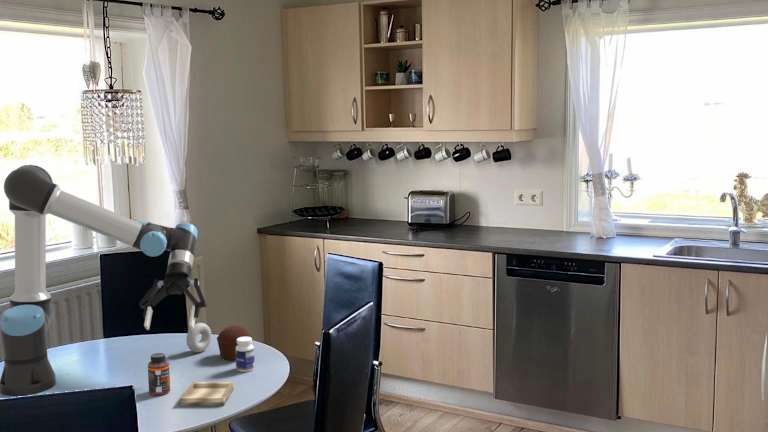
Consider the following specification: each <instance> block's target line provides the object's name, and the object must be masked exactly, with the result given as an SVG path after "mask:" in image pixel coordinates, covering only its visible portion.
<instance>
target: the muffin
mask: <svg viewBox="0 0 768 432" xmlns="http://www.w3.org/2000/svg"><path fill="white" fill-rule="evenodd" d="M239 337H251V338H252V334H251V333H250V332H249V331H248V330H247V329H246V328H244V327H242V326H241V325H230V326H227V327H224V329H222V330H221V331H220V333H219V334H218V336H217V337H216V341H217V344H218V349H219V353H220V359H222V360H223V359H224V360H225V362H236V351H235V348H236V346H237V345H238V344H237V338H239ZM224 360H223V361H224Z"/></svg>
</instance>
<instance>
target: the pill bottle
mask: <svg viewBox="0 0 768 432" xmlns="http://www.w3.org/2000/svg"><path fill="white" fill-rule="evenodd" d="M252 343H253V338H252V336H251V337H239V338H237V344H238V345H237V346H236V348H235V351H236V361H235V369H236V371H237V372H241V373H247V372H251V371H253V370H254V369H255V365H256V364H255V363H256V362H255V347H254V345H253V344H252Z"/></svg>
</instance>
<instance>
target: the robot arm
mask: <svg viewBox="0 0 768 432" xmlns="http://www.w3.org/2000/svg"><path fill="white" fill-rule="evenodd" d="M3 193H4V194H5V197H6V199H8V210H9V211H10V212H11V213H12V214H13V215H14V289H15V290H14V293H12V294H11V295H10V296H9V308H7V309H6V310H4V311H3V312H2V314H1V315H0V331H1V340H2V353H3V361H4V362H3V368H2V372H1V375H0V376H1V377H0V393H1V394H3V395H7V396H24V395H23V394H27V395H31V394H32V395H33V394H36V393H41V392H44V391H46V390H49V389H51V388H52V387H53V386H55V385H56V383H57V377H56V373H55V371H54V369H53V367H52V365H51V362H50V360H49V357H48V346H47V345H48V344H47V343H48V342H47V333H48V331H49V329H50V328H51V325H52V323H53V320H54V312H53V309H52V296H51V294H50V293H49V292H48V291H47V289H46V287H47V286H46V285H47V284H46V283H47V282H46V278H47V275H46V274H47V273H46V272H47V267H46V263H47V262H46V261H47V259H46V253H47V252H46V251H47V250H46V248H47V247H46V245H47V244H46V243H47V241H46V240H47V239H46V235H47V234H46V230H47V229H46V225H47V224H46V217H47V215H52V216H54V217H57V218H60V219H62V220H64V221H66V222H69V223H72V224H74V225H77V226H79V227H82V228H85V229H87V230H89V231H92V232H95V233H97V234H100V235H102V236H104V237H108V238H109V239H112V240H115V241H117V242H119V243H122V244H124V245H127V246H129V247H132V248H134V249H137V250H139V251H141V252H142V253H144V254H145V256H149V257H152V258H153V257H159V256H161V255H162V254H163V253H164V252H165V251H168V252H169V257H168V263H167V268H166V273H165V279H164V280H159V279H158V278H155V279H154V281H153V283H152V284H153V285H151V286H150V288H149V290H148V291H147V292H146V294H144V295H143V297H142V299H141V300H140V301H139V303H138V304H139V307H140V308H141V309H143V314H142V317H143V318H144V323H143V326H144V328H145V329H146V330H147V331H149V330H150V329H151V328H150V327H151V322H152V316H153V312H154V310H153V308H154V307H155V306H157V305H158V304H159V303H160V301H162V300H163V299H164V298H165V297H168V296H169V295H182V294H184V295H185V296H186V297H187V299H188V300H189V301H190V302H191V303H192V304H193V305H192V306H191V311H190V316H189V323H188V324H189V327H190V328H191V329H194V325H195V324H196V319H198V318H199V317H200V310H201V309H203V308H207V305H208V304H207V303H206V300H205V298H204V296H203V293H202V291H201V290H202V289H201V288H200V287H201V286H200V285H201V283H200V281H199V279H198V277H195V278H194V279H191V277H192V268H193V265H194V264H193V263H194V259H195V258H194V257H195V252H196V248H197V247H196V246H197V242H198V233H199V232H198V229H197V226H195V225H194V224H192V223H188V222H185V223H183V222H181V223H180V222H179V223H178V224H176V225H175V227H170V226H165V225H160V224H157V223H153V222H150V221H148V222H147V221H143V220H142V221H136V220H134V219H131V218H128V217H126V216H124V215H121V214H119V213H117V212H114V211H112V210H109V209H107V208H105V207H103V206H100V205H97V204H95V203H92V202H90V201H88V200H86V199H83V198H81V197H78V196H76V195H74V194H71V193H69V192H66V191H65V190H61V188H60V185H58V184H57V183H54V181H53V178H52V176H51V175H50V173H49V172H48V171H47V170H46V169H45V168H43V167H41V166H38V165H34V164H24V165H22V166H20V167H17V168H16V169H14V170H12V171H11V172H10V173H8V175H7V176H6V177H5V179H4V183H3ZM162 286H163V287H162ZM191 286H192V287H193V288H195V291H196V293H197V296H198V299H199V300H200V301H198V300H197V298H196V297H195V296H194V295H193V294H192V293H191V291H190V290H189V287H191ZM159 290H160V291H159Z"/></svg>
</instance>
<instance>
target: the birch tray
mask: <svg viewBox="0 0 768 432" xmlns="http://www.w3.org/2000/svg"><path fill="white" fill-rule="evenodd" d="M233 391H234V382H231V381H228V382H227V381H225V382H220V381H218V382H217V381H216V382H213V381H211V382H209V381H208V382H205V381H203V382H202V381H201V382H197V381H196V382H191V383H190V385H189V386H188V387H187V389H185V391H184V393H183V394H182V395H181V397H179V398H180V400H179V401H180V407H203V406H204V407H209V406H210V407H214V406H215V407H224V406H225V405H226V403H227V401H228V400H229V398H230V396H231V394H232V393H233Z"/></svg>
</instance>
